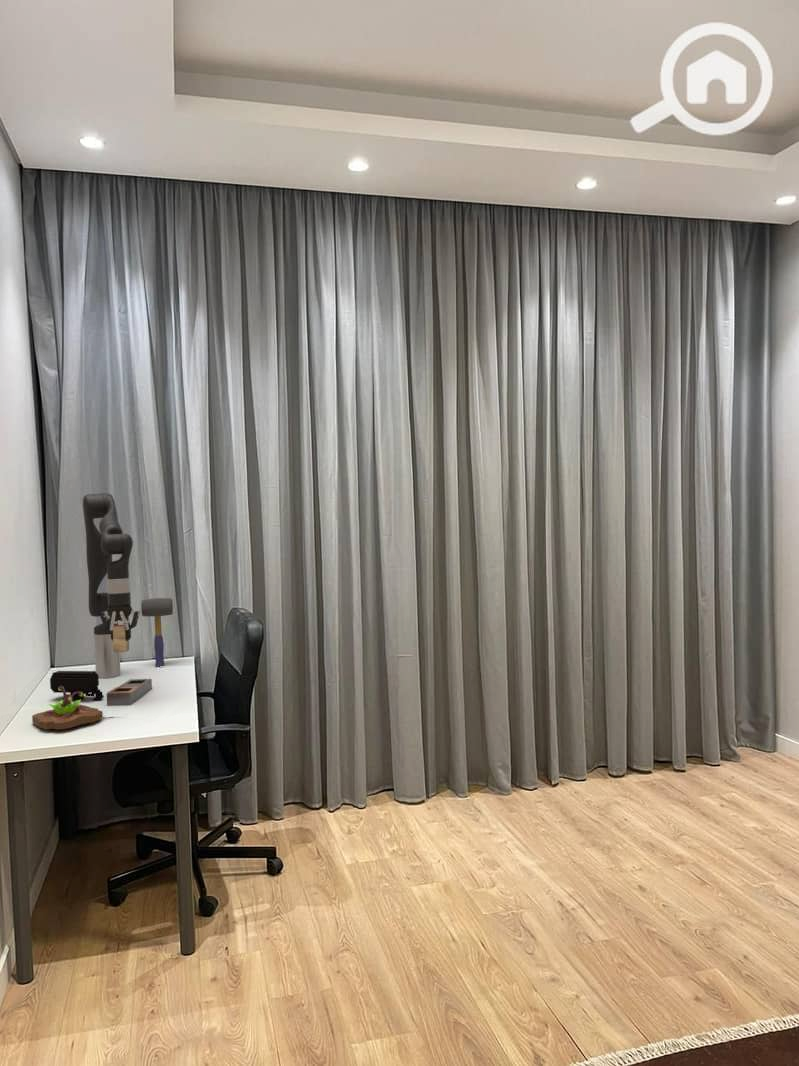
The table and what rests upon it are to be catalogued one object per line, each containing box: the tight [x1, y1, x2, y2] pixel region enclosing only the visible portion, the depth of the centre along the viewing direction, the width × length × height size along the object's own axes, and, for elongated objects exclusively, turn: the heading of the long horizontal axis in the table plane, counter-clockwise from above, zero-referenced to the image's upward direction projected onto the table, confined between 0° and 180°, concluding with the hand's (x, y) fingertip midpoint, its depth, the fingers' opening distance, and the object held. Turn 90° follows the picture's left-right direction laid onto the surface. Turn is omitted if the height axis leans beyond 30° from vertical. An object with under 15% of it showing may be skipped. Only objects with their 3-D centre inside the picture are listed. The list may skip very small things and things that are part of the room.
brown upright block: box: [113, 624, 130, 653], centre depth 297 cm, size 4×4×9 cm
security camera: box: [49, 670, 105, 702], centre depth 303 cm, size 7×18×10 cm, turn 79°
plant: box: [31, 686, 104, 730], centre depth 275 cm, size 20×20×11 cm
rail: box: [106, 678, 153, 707], centre depth 305 cm, size 24×8×4 cm, turn 179°
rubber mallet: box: [140, 597, 174, 668], centre depth 352 cm, size 12×8×30 cm, turn 101°
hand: (121, 640), depth 297 cm, fingers closed on brown upright block, 4 cm apart
